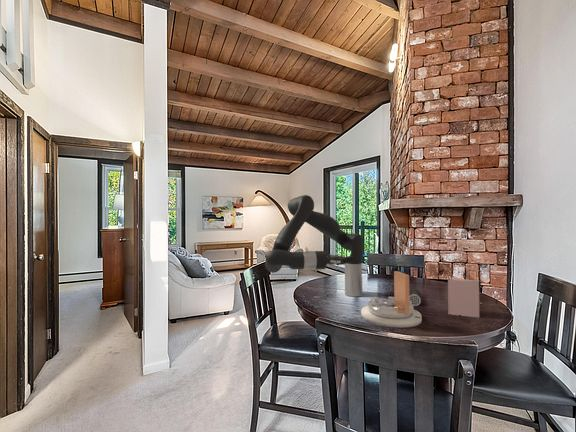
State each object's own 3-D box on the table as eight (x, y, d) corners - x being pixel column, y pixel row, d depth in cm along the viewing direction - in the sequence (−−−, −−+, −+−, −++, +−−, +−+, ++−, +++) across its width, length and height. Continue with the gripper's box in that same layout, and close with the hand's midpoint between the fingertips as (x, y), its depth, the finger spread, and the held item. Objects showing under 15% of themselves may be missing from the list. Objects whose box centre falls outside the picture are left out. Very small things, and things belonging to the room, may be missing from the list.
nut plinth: (376, 305, 142) (376, 300, 142) (429, 315, 126) (429, 310, 126) (350, 318, 124) (350, 313, 124) (409, 332, 108) (409, 326, 108)
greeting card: (480, 317, 124) (479, 281, 124) (471, 320, 120) (470, 283, 120) (453, 310, 134) (452, 276, 134) (443, 313, 130) (443, 278, 130)
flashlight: (409, 297, 156) (409, 287, 156) (420, 298, 154) (420, 287, 154) (408, 305, 142) (408, 294, 142) (420, 306, 140) (420, 295, 140)
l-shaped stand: (361, 306, 133) (361, 266, 133) (399, 304, 135) (399, 264, 135) (385, 324, 111) (384, 276, 111) (429, 321, 113) (429, 274, 113)
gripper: (317, 253, 116) (360, 252, 118) (310, 249, 129) (348, 248, 131) (317, 272, 116) (360, 271, 118) (310, 266, 129) (349, 265, 131)
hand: (354, 259), depth 124 cm, fingers closed
